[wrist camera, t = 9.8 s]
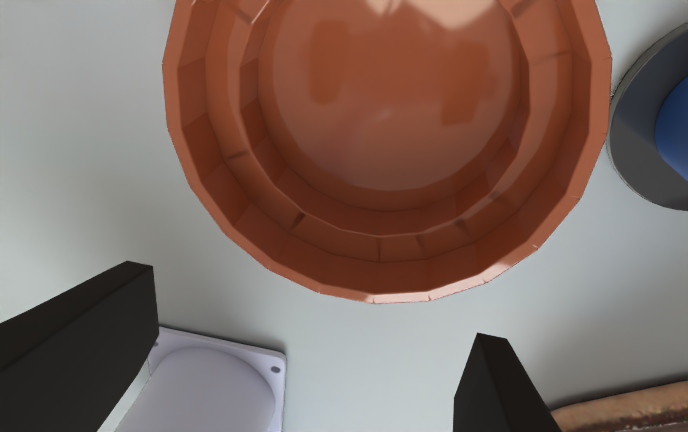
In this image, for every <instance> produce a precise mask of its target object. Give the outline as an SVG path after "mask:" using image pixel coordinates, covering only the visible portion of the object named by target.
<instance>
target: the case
mask: <svg viewBox="0 0 688 432" xmlns="http://www.w3.org/2000/svg"><path fill="white" fill-rule="evenodd" d="M550 413H551V415H552V416H553V418H554V419H555V421H556V422H557V424H558V426H559V427H560V429H561V430H562V432H688V380H687V381H682V382H676V383H672V384H667V385H662V386H658V387H652V388H648V389H644V390H639V391H634V392H628V393H624V394H619V395H614V396H610V397H605V398H601V399H596V400H592V401H587V402H582V403H577V404H572V405H568V406H565V407H562V408H559V409H556V410H553V411H551V412H550Z"/></svg>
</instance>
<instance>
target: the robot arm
mask: <svg viewBox="0 0 688 432" xmlns="http://www.w3.org/2000/svg"><path fill="white" fill-rule="evenodd" d="M147 357H148V362H149V369H150V376H151V377H150V379H149V380H148V382H147V383H146V385H145V386H144V388H143V389H142V391H141V392H140V394H139V395H138V397H137V398H136V400H135V401H134V403H133V404H132V406H131V407H130V409H129V410H128V411H127V413H126V414H125V416H124V417H123V419H122V420H121V422H120V423H119V425H118V426H117V428H116V429H115V431H114V432H282V423H283V409H284V394H285V380H286V365H287V358H286V356H285V355H284V354H283V353H281V352H278V351H273V350H268V349H263V348H259V347H254V346H249V345H244V344H240V343H235V342H230V341H225V340H221V339H216V338H211V337H206V336H202V335H197V334H192V333H187V332H183V331H178V330H173V329H168V328H164V327H159V323H158V313H157V303H156V293H155V283H154V273H153V266H150V265H146V264H141V263H136V262H131V261H125V262H123V263H121V264H119V265H117V266H115V267H113V268H110V269H108V270H106V271H104V272H102V273H101V274H99V275H97V276H95V277H93V278H91V279H89V280H87V281H85V282H83V283H81V284H79V285H77V286H75V287H73V288H71V289H69V290H67V291H66V292H64V293H62V294H60V295H58V296H56V297H54V298H52V299H50V300H48V301H46V302H44V303H42V304H40V305H38V306H36V307H34V308H32V309H30V310H28V311H26V312H24V313H22V314H19V315H17V316H15V317H13V318H11V319H9V320H7V321H4V322H2V323H0V432H97V431H98V429H99V428H100V427H101V425H102V424H103V422H104V421H105V420H106V418H107V417H108V416H109V414H110V413H111V411H112V410H113V409H114V407H115V406H116V404H117V403H118V402H119V400H120V399H121V397H122V396H123V395H124V393H125V392H126V390H127V389H128V388H129V386H130V385H131V383H132V382H133V380H134V379H135V378H136V376H137V375H138V373H139V371H140V369H141V368H142V366H143V364H144V362H145V361H146V359H147ZM275 366H277V367H275ZM278 367H279V368H278ZM453 432H562V430H561V429H560V427H559V426H558V424H557V422H556V421H555V419H554V418H553V416H552V415H551V413H550V411H549V410H548V408H547V406H546V405H545V403H544V402H543V400H542V398H541V397H540V395H539V393H538V391H537V390H536V388H535V386H534V385H533V383H532V381H531V380H530V378H529V376H528V374H527V373H526V371H525V369H524V367H523V366H522V364H521V362H520V360H519V359H518V357H517V355H516V353H515V352H514V350H513V348H512V346H511V345H510V343H509V342H508V340H507V339H506V338H501V337H496V336H491V335H486V334H481V333H477V335H476V338H475V340H474V343H473V346H472V349H471V352H470V355H469V357H468V360H467V363H466V366H465V369H464V371H463V374H462V377H461V380H460V383H459V386H458V388H457V391H456V394H455V397H454V414H453Z"/></svg>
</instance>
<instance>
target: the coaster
mask: <svg viewBox="0 0 688 432" xmlns="http://www.w3.org/2000/svg"><path fill="white" fill-rule="evenodd" d="M686 77H688V23H686V24H684V25H683V26H681V27H679V28H677V29H675V30H674V31H672V32H671V33H669V34H668V35H666V36H665V37H663V38H662V39H660V40H659V41H658V42H657V43H656V44H654V45H653V46H652V47H651V48H650V49H648V50H647V51H646V52H645V53H644V54H643V55H642V56H641V57H640V58H639V59H638V60H637V61H636V62H635V64H634V65H633V66H632V67H631V69H630V70H629V71H628V73H627V74H626V75H625V77H624V78H623V80H622V82H621V83H620V85H619V86H618V88H617V90H616V92H615V95H614V97H613V99H612V101H611V104H610V109H609V127H608V133H607V137H606V139H605V140H606V148H607V152H608V155H609V159H610V161H611V163H612V165H613V167H614V169H615V170H616V172H617V173H618V175H619V176H620V177H621V179H622V180H623V181H624V182H625V183H626V184H627V185H628V186H629V187H630V188H631V189H632V190H633V191H634V192H635V193H637V194H638V195H639V196H641V197H642V198H644V199H646V200H648V201H650V202H652V203H654V204H657V205H660V206H663V207H666V208H671V209H675V210H683V211H688V181H687V180H685V179H684V178H683V177H682V176H681V175H680V174H679V173H678V172H677V171H675V170H674V169H673V168H672V167H671V166H670V165H669V164H668V163H667V162H666V161H665V160H664V159H663V158H662V156H661V155H660V153H659V151H658V149H657V146H656V142H655V124H656V120H657V116H658V114H659V111H660V109H661V107H662V105H663V103H664V101H665V100H666V99H667V97H668V96H669V94H670V93H671V92H672V91H673V90H674V88H675V87H676V86H677V85H678V84H679V83H680V82H681V81H683V80H684V79H685V78H686Z"/></svg>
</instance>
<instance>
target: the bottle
mask: <svg viewBox="0 0 688 432" xmlns="http://www.w3.org/2000/svg"><path fill="white" fill-rule="evenodd" d="M655 142H656V146H657V149H658V151H659V153H660V155H661V156H662V158H663V159H664V160H665V161H666V162H667V163H668V164H669V165H670V166H671V167H672V168H673V169H674V170H675V171H677V172H678V173H679V174H680V175H681V176H682V177H683V178H684V179H685V180H687V181H688V77H686V78H685V79H684V80H683V81H681V82H680V83H679V84H678V85H677V86H676V87H675V88H674V90H673V91H672V92H671V93H670V94H669V96H668V97H667V99H666V100H665V101H664V103H663V105H662V107H661V109H660V111H659V114H658V116H657V120H656V124H655Z"/></svg>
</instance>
